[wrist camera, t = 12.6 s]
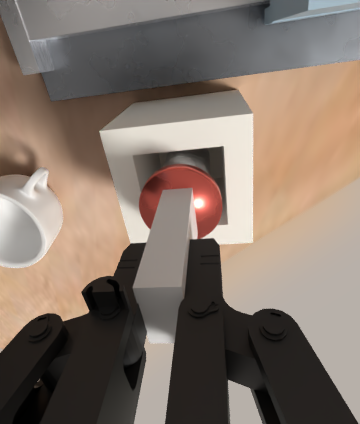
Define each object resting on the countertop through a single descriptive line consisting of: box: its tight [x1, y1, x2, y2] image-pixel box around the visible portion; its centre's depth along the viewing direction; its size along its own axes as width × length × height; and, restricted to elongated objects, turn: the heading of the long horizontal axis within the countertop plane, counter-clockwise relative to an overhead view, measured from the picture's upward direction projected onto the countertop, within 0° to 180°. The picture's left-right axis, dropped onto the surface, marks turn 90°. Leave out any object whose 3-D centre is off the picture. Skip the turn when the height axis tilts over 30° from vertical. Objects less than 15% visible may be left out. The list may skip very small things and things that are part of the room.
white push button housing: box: [99, 90, 253, 244], centre depth 20 cm, size 8×8×8 cm
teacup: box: [0, 167, 63, 268], centre depth 24 cm, size 10×8×5 cm
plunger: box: [139, 148, 222, 239], centre depth 18 cm, size 4×4×8 cm
